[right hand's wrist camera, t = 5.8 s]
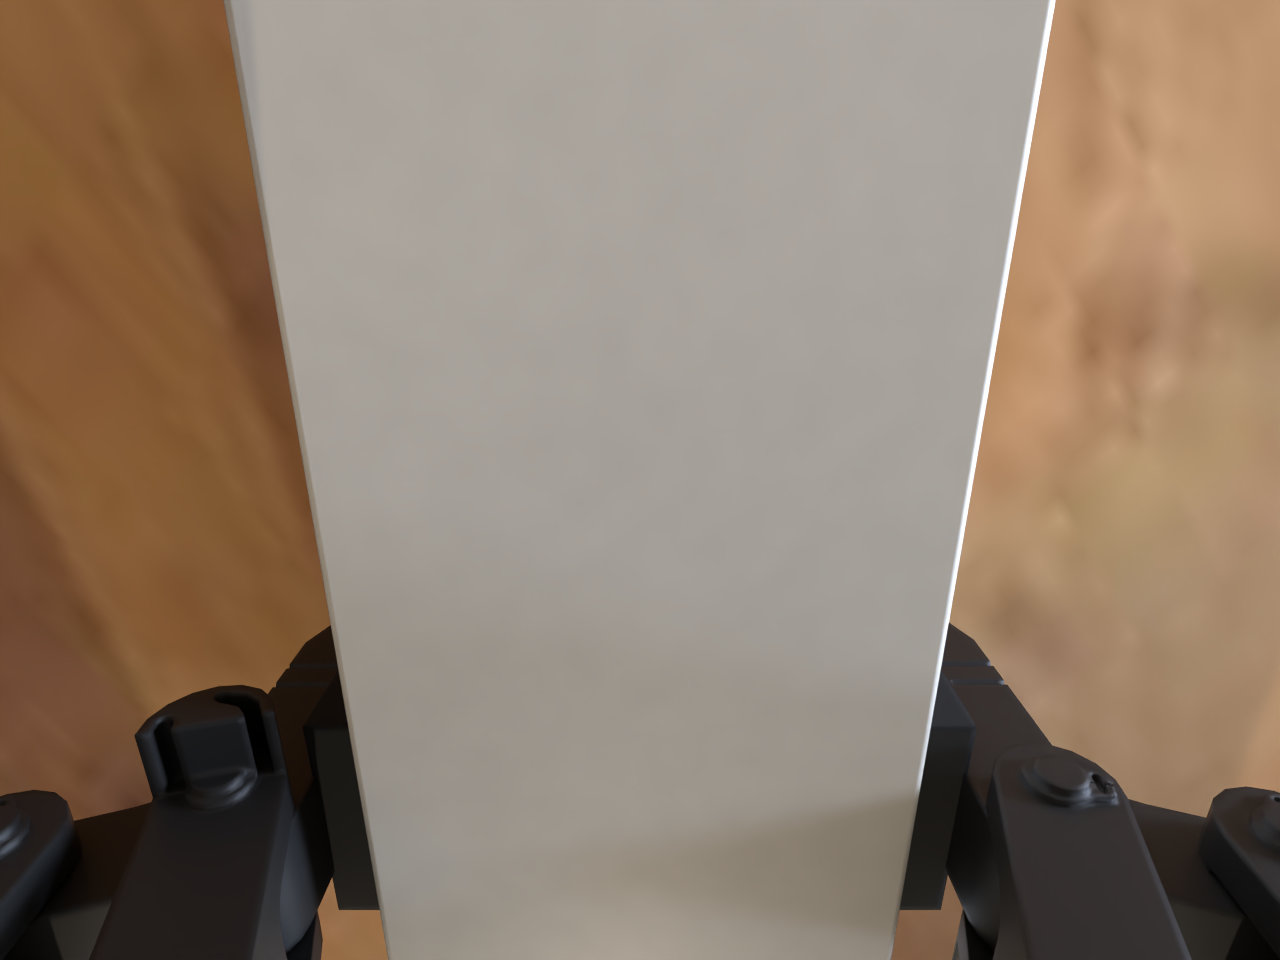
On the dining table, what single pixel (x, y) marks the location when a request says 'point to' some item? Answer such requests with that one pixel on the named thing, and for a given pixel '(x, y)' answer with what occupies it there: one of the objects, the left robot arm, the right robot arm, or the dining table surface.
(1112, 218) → the dining table surface
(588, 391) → the bar
